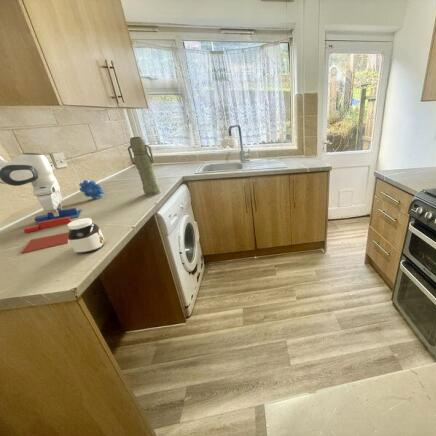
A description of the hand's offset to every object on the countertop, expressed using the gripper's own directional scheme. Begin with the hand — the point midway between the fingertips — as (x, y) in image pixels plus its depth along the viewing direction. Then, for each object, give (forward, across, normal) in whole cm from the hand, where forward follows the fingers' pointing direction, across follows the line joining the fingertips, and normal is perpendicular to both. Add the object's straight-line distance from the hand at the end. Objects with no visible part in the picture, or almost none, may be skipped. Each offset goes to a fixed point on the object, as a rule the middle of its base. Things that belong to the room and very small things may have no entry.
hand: (58, 213), depth 122 cm
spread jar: (+2, +48, +16) cm, 51 cm away
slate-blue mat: (+2, 0, 0) cm, 2 cm away
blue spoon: (+2, 0, 0) cm, 2 cm away
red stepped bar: (+2, +12, -1) cm, 12 cm away
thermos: (+2, -13, +43) cm, 45 cm away
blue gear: (+2, -26, +12) cm, 29 cm away
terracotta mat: (+2, +32, +3) cm, 32 cm away
